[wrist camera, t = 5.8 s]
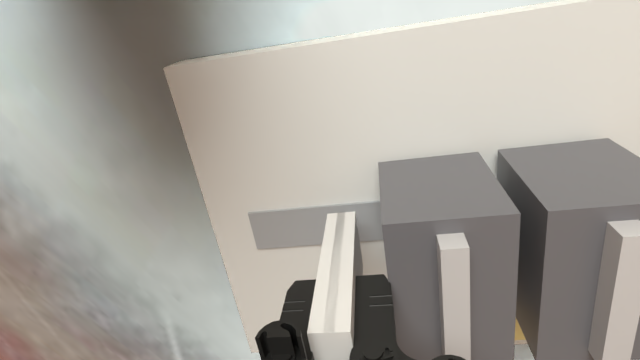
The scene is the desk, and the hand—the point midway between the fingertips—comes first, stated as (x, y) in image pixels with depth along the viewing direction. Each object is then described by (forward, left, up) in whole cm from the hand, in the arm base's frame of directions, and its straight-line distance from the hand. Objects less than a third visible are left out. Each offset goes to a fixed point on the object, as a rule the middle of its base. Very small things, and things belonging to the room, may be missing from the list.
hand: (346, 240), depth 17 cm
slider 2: (+8, 0, -1) cm, 8 cm away
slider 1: (+4, 0, -1) cm, 4 cm away
